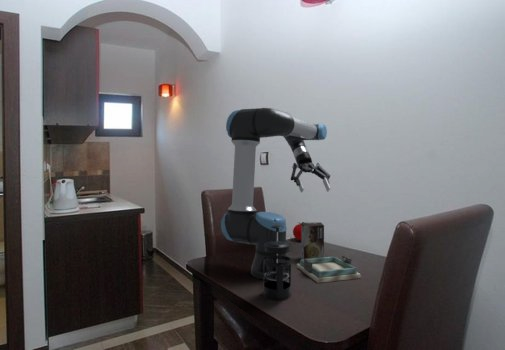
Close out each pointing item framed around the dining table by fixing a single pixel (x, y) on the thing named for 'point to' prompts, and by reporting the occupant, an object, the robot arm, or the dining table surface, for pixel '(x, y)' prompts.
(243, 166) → the robot arm
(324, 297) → the dining table surface
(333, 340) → the dining table surface
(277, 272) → the french press
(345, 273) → the tray
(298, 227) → the tomato
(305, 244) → the coffee box
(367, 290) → the dining table surface
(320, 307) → the dining table surface
